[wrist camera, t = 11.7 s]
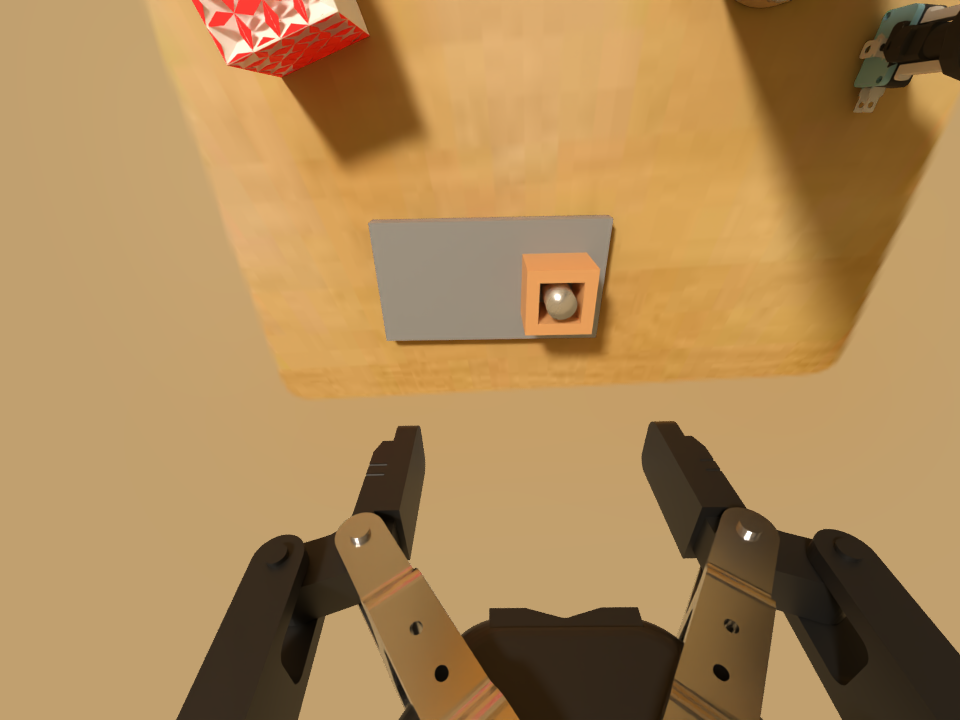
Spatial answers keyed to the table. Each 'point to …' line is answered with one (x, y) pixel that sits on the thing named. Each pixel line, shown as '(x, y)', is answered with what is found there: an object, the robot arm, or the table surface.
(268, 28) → the red white patterned cube
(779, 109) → the table surface
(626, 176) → the table surface
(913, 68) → the push button
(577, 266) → the collar
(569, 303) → the steel post
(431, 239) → the base plate
